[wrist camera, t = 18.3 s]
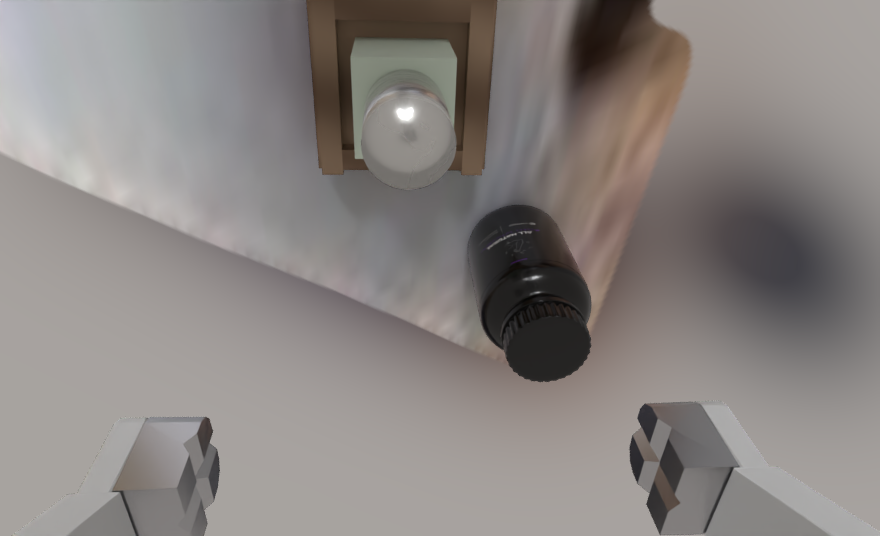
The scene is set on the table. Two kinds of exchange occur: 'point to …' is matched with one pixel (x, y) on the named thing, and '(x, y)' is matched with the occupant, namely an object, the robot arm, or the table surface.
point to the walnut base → (399, 16)
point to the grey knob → (407, 130)
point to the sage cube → (394, 54)
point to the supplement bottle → (530, 292)
